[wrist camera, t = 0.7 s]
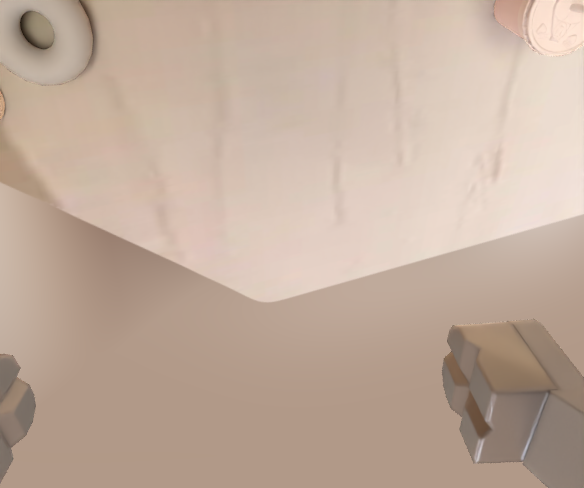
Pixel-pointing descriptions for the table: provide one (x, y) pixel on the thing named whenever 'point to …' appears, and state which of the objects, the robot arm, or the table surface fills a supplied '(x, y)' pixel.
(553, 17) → the smoothie
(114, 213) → the table surface
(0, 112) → the beer glass
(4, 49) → the donut
